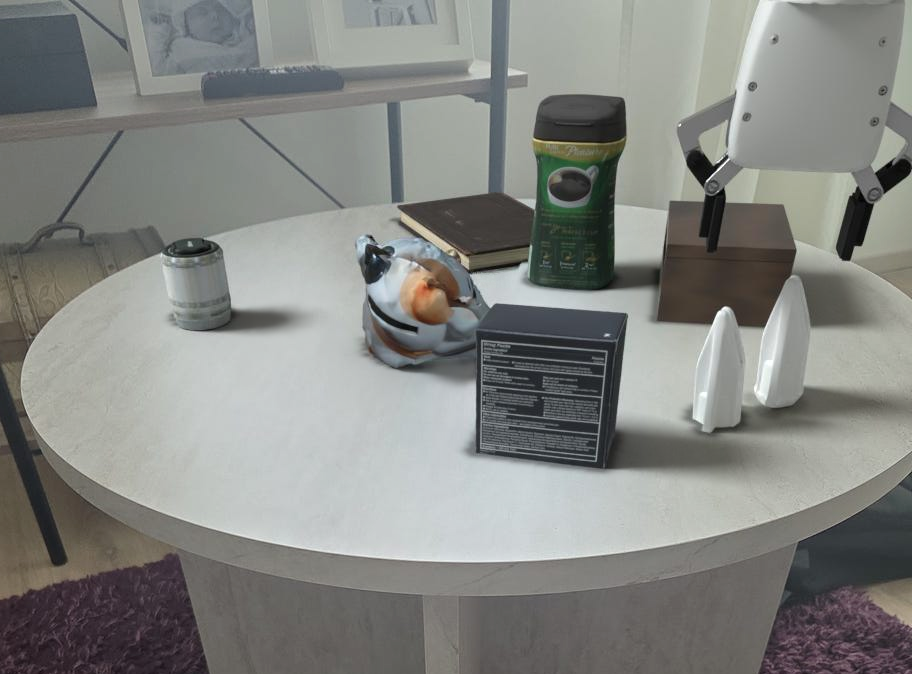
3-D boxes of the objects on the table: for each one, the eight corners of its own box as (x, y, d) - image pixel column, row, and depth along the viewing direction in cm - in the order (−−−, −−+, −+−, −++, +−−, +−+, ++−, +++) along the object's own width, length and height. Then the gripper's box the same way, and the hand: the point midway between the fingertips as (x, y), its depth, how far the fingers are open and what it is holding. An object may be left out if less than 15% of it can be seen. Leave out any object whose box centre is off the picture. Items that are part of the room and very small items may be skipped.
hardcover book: (466, 274, 107) (466, 253, 105) (397, 223, 123) (397, 205, 122) (586, 255, 111) (588, 235, 110) (504, 208, 128) (505, 191, 126)
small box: (616, 437, 75) (632, 309, 68) (605, 475, 70) (620, 341, 63) (491, 422, 77) (494, 297, 71) (472, 458, 72) (473, 328, 66)
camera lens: (228, 306, 100) (215, 231, 95) (238, 326, 95) (226, 248, 90) (170, 315, 98) (154, 238, 93) (178, 335, 94) (162, 256, 89)
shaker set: (780, 389, 81) (811, 260, 74) (816, 407, 78) (851, 275, 71) (673, 420, 77) (695, 286, 70) (707, 440, 74) (733, 303, 67)
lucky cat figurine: (528, 344, 90) (531, 234, 77) (447, 425, 87) (437, 325, 74) (416, 271, 94) (401, 156, 81) (336, 346, 92) (308, 239, 79)
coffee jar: (617, 274, 106) (637, 89, 94) (605, 297, 100) (625, 103, 88) (535, 267, 108) (545, 86, 96) (519, 289, 102) (527, 100, 90)
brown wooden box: (767, 280, 103) (783, 204, 98) (778, 333, 91) (797, 249, 86) (659, 274, 105) (669, 200, 100) (655, 326, 93) (667, 244, 88)
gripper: (970, -31, 60) (888, 243, 70) (699, -33, 62) (660, 231, 73) (1000, -22, 54) (905, 275, 65) (700, -25, 57) (658, 260, 68)
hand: (775, 251), depth 69 cm, fingers open, 9 cm apart
